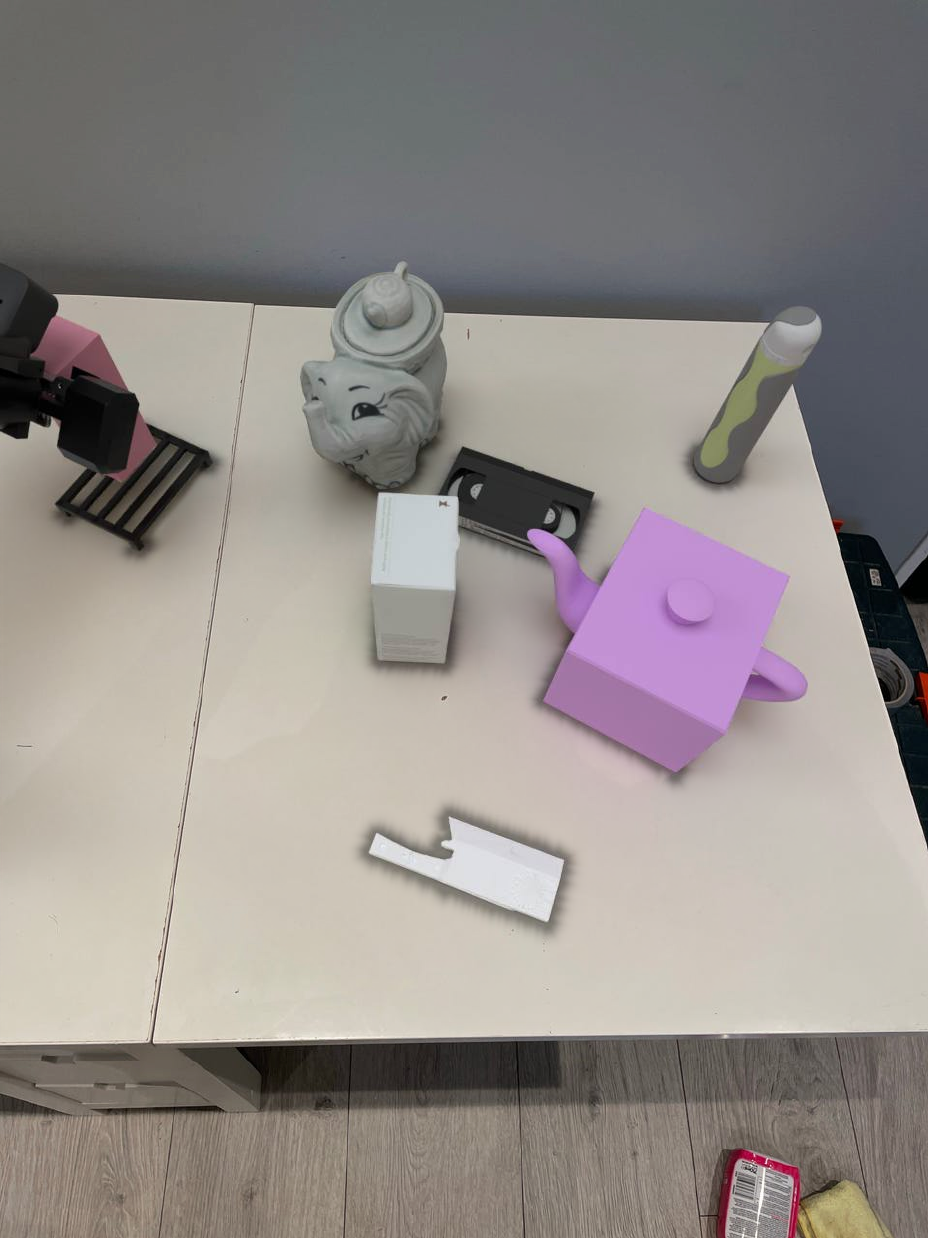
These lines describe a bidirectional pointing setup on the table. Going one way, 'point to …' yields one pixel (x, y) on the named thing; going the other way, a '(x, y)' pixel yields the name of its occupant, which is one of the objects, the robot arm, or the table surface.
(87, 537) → the table surface
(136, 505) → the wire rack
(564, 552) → the teapot
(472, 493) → the vhs tape
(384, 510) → the cosmetic box
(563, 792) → the table surface
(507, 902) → the butcher knife
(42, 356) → the pink box
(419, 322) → the elephant cookie jar
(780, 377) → the spray bottle
